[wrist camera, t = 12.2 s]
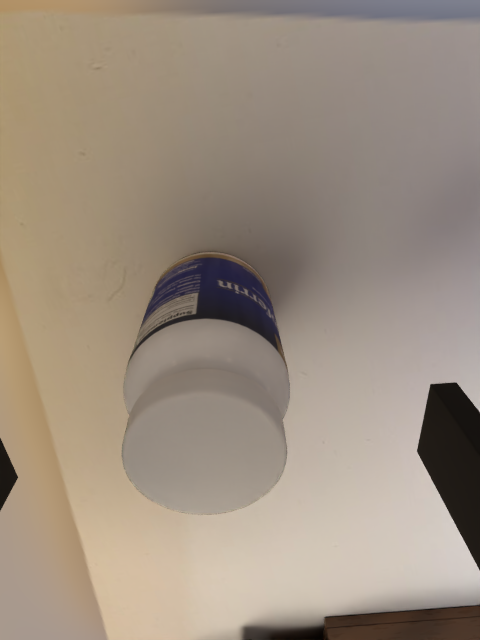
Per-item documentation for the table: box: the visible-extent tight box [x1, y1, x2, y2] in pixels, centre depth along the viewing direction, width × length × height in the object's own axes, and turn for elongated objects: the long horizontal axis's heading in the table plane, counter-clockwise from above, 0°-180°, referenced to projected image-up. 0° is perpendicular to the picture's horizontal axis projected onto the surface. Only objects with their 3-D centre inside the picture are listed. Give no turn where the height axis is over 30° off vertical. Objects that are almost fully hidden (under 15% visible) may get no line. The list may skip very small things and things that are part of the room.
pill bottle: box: [122, 252, 290, 515], centre depth 16 cm, size 6×6×10 cm
